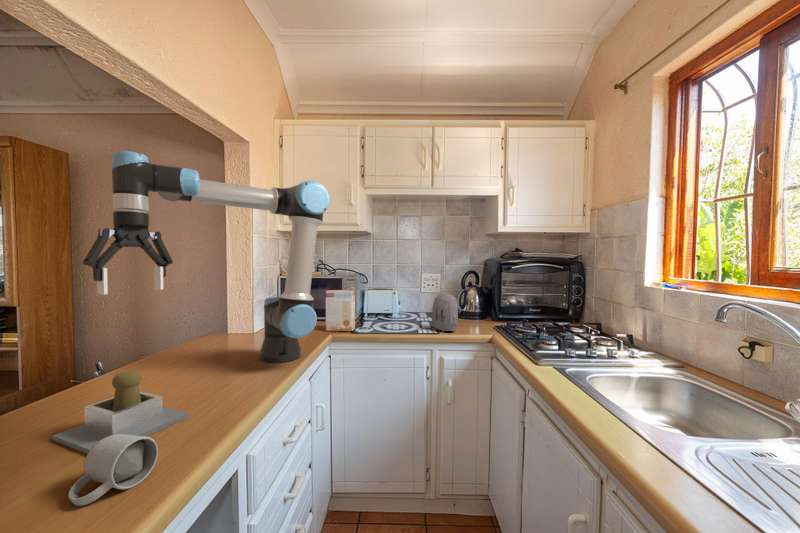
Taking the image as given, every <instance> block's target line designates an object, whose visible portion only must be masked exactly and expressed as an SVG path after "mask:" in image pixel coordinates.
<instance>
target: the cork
mask: <svg viewBox="0 0 800 533" xmlns="http://www.w3.org/2000/svg"><path fill="white" fill-rule="evenodd" d="M142 378H143V377H142V374H141V373H140V372H139V371H137V370H127V371H122V372H119V373H117V374H115V375H114V377H113V378H112V382H111V384H112V387H113V388H114V389H115V390H114V396H113V397H114V402H113V408H112V411H113V412H117V411H120V410H122V409H125V408H128V407H131V406H133V405H136V404H139V403H142V402H141V396H140V391H141V390H140V384H141V381H142Z"/></svg>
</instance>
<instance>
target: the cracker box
mask: <svg viewBox="0 0 800 533" xmlns="http://www.w3.org/2000/svg"><path fill="white" fill-rule="evenodd" d="M355 292H356V291H355V290H353V289H352V290H347V289H328V290H325V331H326V330H333V331H353V330H354V329H356V309H355V308H356V294H355ZM354 331H355V330H354ZM354 331H353V332H354Z"/></svg>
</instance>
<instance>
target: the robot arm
mask: <svg viewBox="0 0 800 533" xmlns="http://www.w3.org/2000/svg"><path fill="white" fill-rule="evenodd" d="M111 162H112V164H111V172H112V173H111V177H112V178H111V179H112V180H111V181H112V209H113V210H115V211H113V213H112V224H113V229H110V228H109V227H103V228H99V229H98V233H97V237H96V239H95V241H94V243H93V244H92V246H91V248H90V250H89V251H88V253H87V255H86V256H85V258H84V259H83V261H82V264H83V265H84V266H87V267H91V268H92V278H93V281H94V282H97V295H108V290H109V289H108V268H107V267H104V266H105V265H106V264H107V263H108V262H109V261H110V260H111V259H112V258H114V256H115V255H116V254H117V253H118V252H119V250H121V249H122V248H123V247H124V248H125V247H126V248H127V247H128V248H129V247H130V248H140V249H142V251H144V253H146V255H147V256H148V257H149V258H150V259H151V260H152V261H153V263H155V264H156V266H154V268H153V274H154V275H153V276H154V278H153V279H154V286H153V287H154V290H164V278H166V276H167V274H166V272H167V271H166V270H167V268H166V267H168V266H169V265H171V264H173V263H174V261H173V259H172V257H171V254H170V253H169V251H168V249H167V247H166V245H165V244H164V242H163V239H162V233H161V232H160V231H151V232H150V230H149V226H150V215H149V214H148V212H149V211H150V203H149V202H150V201H149V192H152V193H157V194H158V195H159V197H160V198H162V199H163V200H165V201H168V202H176V201H182V202H193V203H199V204H200V203H201V204H209V205H219V206H226V207H237V208H244V209H254V210H261V211H268V212H270V214H273V215H279V216H281V215H282V216H285V217H288V220H290V222H291V230H290V231H291V232H290V242H289V251H288V259H287V267H286V268H287V269H286V276H285V286H284V292H282V293H281V294H280V295H279V296H275V297H267V298H265V299H264V304H263V311H264V312H263V316H264V323H263V324H264V325H263V326H264V332H263V334H264V337H263V341H262V344H261V349H260V351H259V360H260V361H262V362H265V363H274V364H276V363H277V364H278V363H286V362H291V361H294V360H298V359H300V358H301V357H302V355H303V353H302V351H303V350H302V348H301V346H300V340H299V339H301V338H304V337H306V336H308V335H310V333H312V332H313V330H315V328H316V325H317V320H318V319H317V318H318V316H317V313H316V311H315V309H314V300H315V299H314V297H313V296H312V295H311V286H312V279H313V278H312V277H313V270H314V260H315V252H316V245H317V244H316V242H317V233H318V227H319V226H320V225H322V224H323V219H324V213H325V212H326V211H327V210H328V208H329V207H330V203H331V196H330V193H329V192H328V190H327V188H326V187H325V186H324V185H323V184H321V183H320V182H318V181H315V180H307V181H306V180H305V181H302V182H300V183H298V184H296V185H294V186H291V187H285V188H284V187H282V188H280V187H272V188H271V189H267V188H260V187H254V186H249V185H247V186H246V185H242V184H233V183H227V182H223V181H222V182H220V181H214V180H206V179H200V174H199V171H197V170H195V169H190V168H187V167H178V166H171V165H163V164H162V165H161V164H156V163H151V162H150V161H149V158H148V156H147V155H145V154H143V153H140V152H135V151H129V150H117V151H115V152H114V153H113V154H112V160H111ZM112 236H113V237H114V240H113V241H112V243H111V244H110V246H108V247H107V249H106V250H105V251H104V252H102V251H103V250H104V248H105V247H106V245H107V242H108V241H109V239H110V238H111V237H112ZM148 239H150V240H151V241H152V243H153V245H154V247H155V248H154V247H153V246H152V243H151V242H150V241H149V240H148Z"/></svg>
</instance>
